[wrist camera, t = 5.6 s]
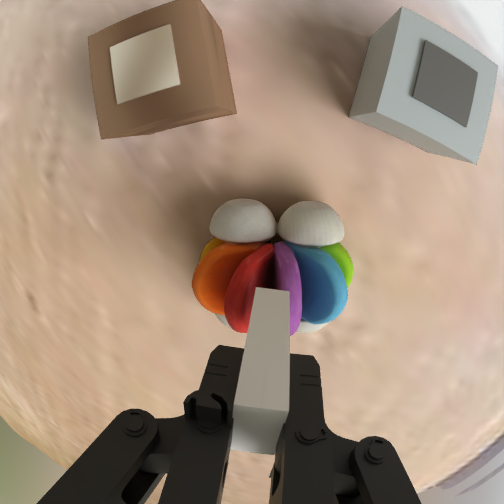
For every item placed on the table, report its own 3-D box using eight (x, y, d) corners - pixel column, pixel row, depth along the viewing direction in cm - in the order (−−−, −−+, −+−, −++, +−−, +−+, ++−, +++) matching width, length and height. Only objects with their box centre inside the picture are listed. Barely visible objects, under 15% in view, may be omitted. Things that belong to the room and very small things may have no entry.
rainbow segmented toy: (204, 193, 19) (163, 227, 13) (352, 199, 19) (387, 237, 12) (210, 303, 23) (183, 369, 16) (337, 310, 22) (353, 379, 15)
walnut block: (150, 134, 18) (99, 139, 12) (137, 55, 16) (85, 36, 10) (237, 113, 17) (214, 105, 12) (221, 30, 15) (194, -8, 9)
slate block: (348, 117, 17) (377, 111, 11) (370, 37, 14) (403, 4, 8) (427, 152, 17) (479, 165, 11) (447, 76, 14) (500, 65, 9)
